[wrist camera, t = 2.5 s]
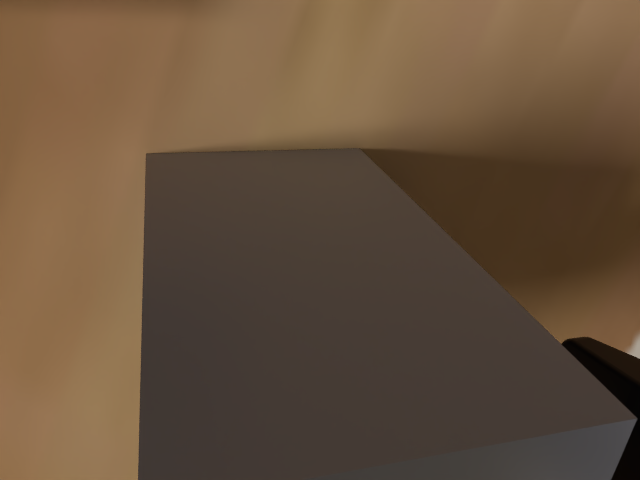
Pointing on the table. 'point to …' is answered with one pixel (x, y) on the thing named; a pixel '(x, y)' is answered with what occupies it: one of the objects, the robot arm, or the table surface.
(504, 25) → the table surface
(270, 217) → the grey rectangular block
